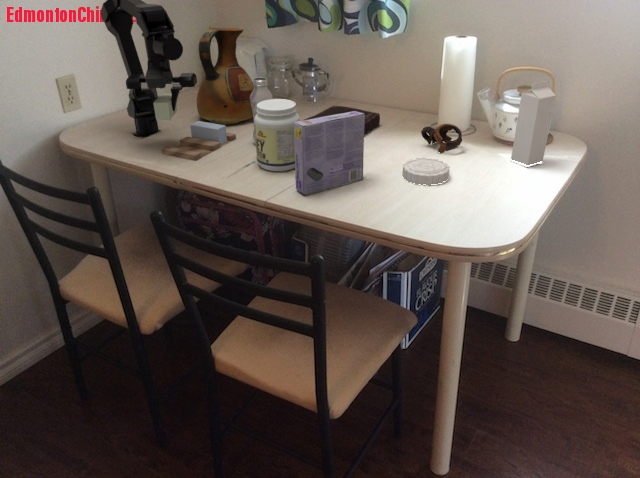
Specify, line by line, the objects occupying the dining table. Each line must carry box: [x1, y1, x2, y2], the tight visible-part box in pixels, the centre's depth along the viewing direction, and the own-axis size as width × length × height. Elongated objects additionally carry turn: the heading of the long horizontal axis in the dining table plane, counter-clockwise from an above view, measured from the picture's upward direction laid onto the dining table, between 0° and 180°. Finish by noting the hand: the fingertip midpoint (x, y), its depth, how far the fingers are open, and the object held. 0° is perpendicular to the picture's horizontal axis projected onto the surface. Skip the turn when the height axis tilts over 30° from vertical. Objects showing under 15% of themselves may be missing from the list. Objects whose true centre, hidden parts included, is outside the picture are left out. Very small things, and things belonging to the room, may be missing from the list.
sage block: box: [153, 93, 178, 122], centre depth 164 cm, size 10×4×5 cm, turn 1°
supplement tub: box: [253, 98, 301, 172], centre depth 154 cm, size 12×12×17 cm
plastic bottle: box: [250, 77, 274, 146], centre depth 165 cm, size 6×7×20 cm
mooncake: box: [401, 157, 450, 186], centre depth 149 cm, size 12×12×4 cm
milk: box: [510, 80, 556, 165], centre depth 151 cm, size 6×6×22 cm
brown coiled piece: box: [420, 123, 463, 154], centre depth 166 cm, size 12×10×8 cm
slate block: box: [189, 120, 227, 145], centre depth 171 cm, size 10×4×5 cm, turn 63°
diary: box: [301, 105, 381, 136], centre depth 180 cm, size 19×25×5 cm
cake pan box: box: [294, 111, 365, 196], centre depth 142 cm, size 19×5×18 cm, turn 123°
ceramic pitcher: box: [196, 26, 255, 125], centre depth 185 cm, size 20×20×30 cm
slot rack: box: [161, 131, 237, 162], centre depth 168 cm, size 12×20×2 cm, turn 153°
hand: (166, 111), depth 164 cm, fingers closed on sage block, 4 cm apart
